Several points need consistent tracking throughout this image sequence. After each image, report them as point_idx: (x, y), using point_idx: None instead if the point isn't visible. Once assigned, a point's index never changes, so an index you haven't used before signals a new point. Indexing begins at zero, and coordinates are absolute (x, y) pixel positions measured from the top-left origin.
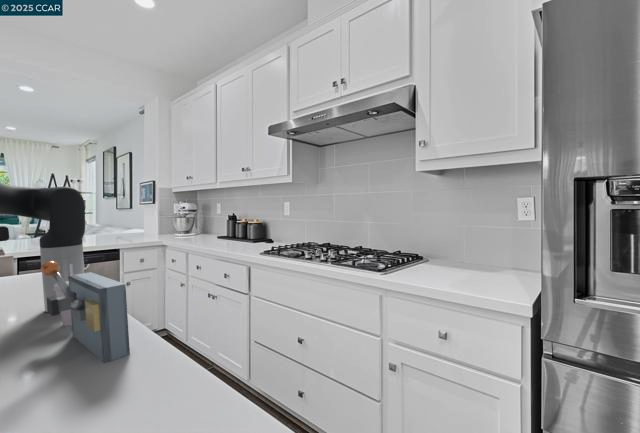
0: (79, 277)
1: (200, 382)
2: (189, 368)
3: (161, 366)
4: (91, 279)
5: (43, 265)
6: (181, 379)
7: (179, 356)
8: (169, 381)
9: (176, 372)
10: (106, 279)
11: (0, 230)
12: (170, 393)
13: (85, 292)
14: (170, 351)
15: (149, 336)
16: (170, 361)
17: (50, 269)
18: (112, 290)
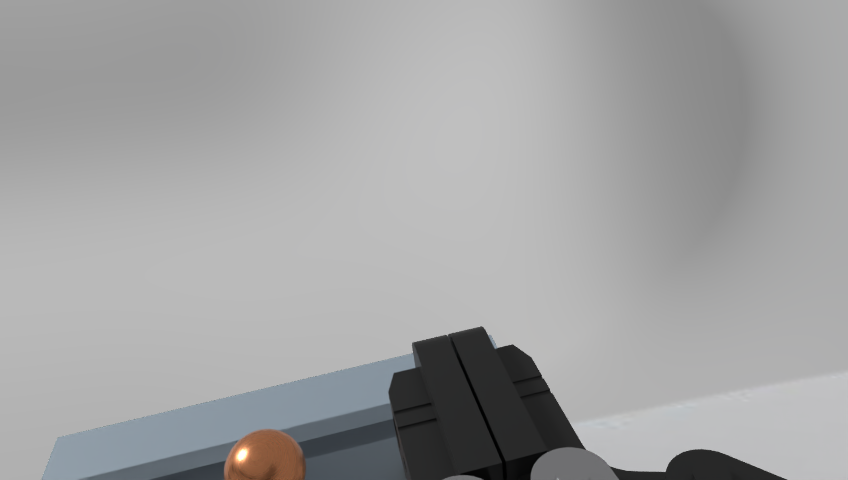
0: (152, 464)
1: (784, 405)
2: (696, 413)
3: (649, 458)
4: (269, 422)
5: (273, 474)
6: (752, 431)
7: (606, 422)
8: (752, 451)
9: (706, 436)
10: (331, 381)
11: (527, 359)
12: (820, 455)
13: (329, 469)
14: None
15: None
16: (628, 440)
17: (303, 467)
18: None
